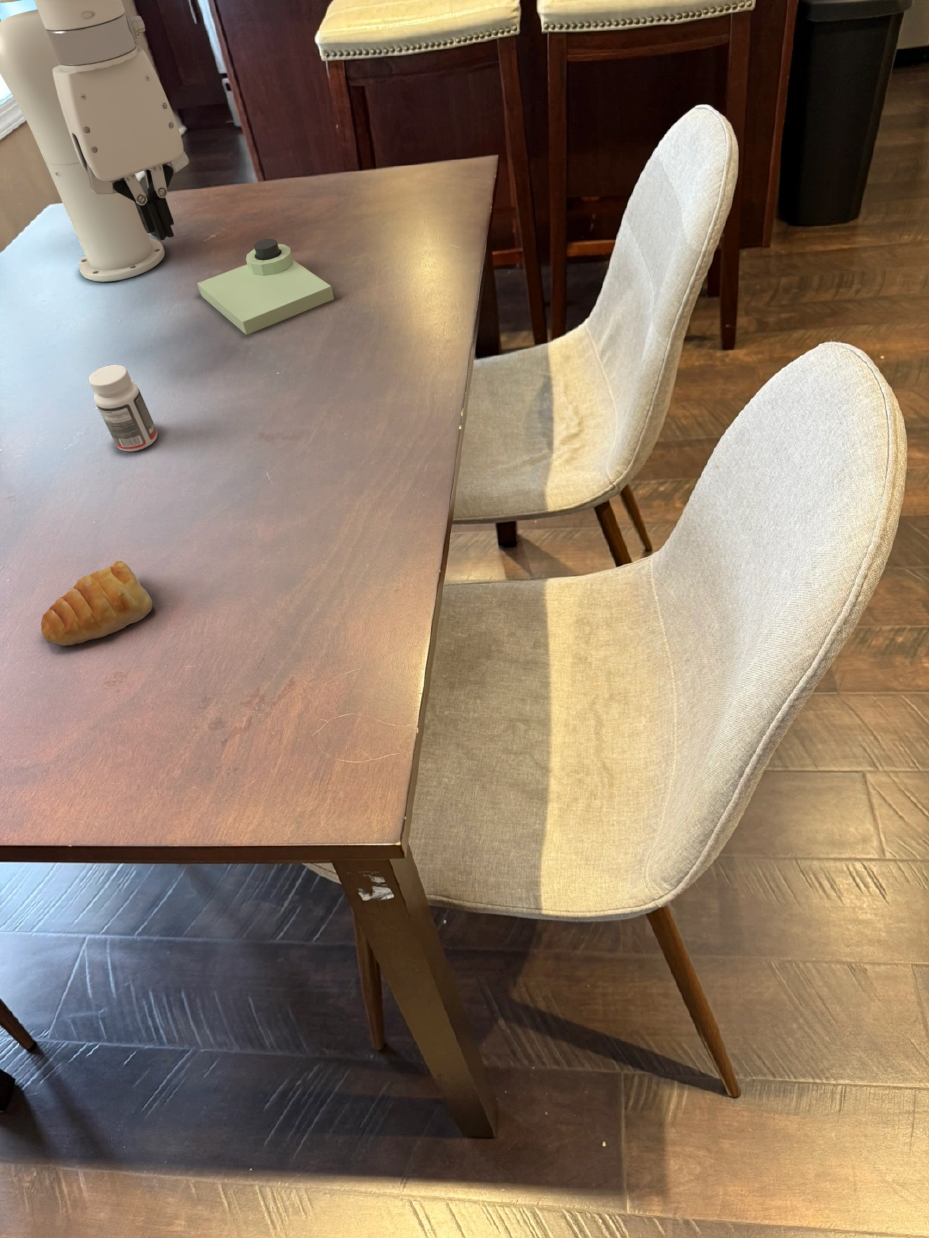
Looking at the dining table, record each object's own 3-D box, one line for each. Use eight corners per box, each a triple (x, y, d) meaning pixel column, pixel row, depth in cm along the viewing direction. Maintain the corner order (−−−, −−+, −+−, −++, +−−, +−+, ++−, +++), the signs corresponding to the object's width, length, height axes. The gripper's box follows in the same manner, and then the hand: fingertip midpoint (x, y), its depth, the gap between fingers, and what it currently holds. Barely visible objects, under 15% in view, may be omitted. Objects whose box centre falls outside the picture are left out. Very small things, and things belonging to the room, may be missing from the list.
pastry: (63, 666, 74) (42, 637, 71) (37, 625, 78) (16, 595, 75) (162, 610, 78) (146, 580, 75) (132, 573, 81) (116, 543, 79)
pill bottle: (140, 423, 99) (111, 358, 93) (167, 434, 97) (139, 368, 91) (107, 445, 97) (75, 379, 91) (134, 457, 95) (103, 391, 88)
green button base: (201, 296, 120) (192, 271, 117) (284, 264, 124) (278, 240, 122) (246, 335, 111) (238, 310, 108) (334, 299, 115) (329, 274, 113)
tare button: (253, 256, 119) (250, 244, 118) (274, 249, 120) (270, 236, 119) (263, 264, 117) (260, 251, 116) (284, 256, 119) (281, 243, 117)
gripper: (151, 19, 88) (209, 205, 101) (6, 58, 82) (87, 249, 96) (180, 28, 83) (237, 222, 96) (28, 70, 78) (110, 269, 91)
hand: (162, 235), depth 96 cm, fingers closed
